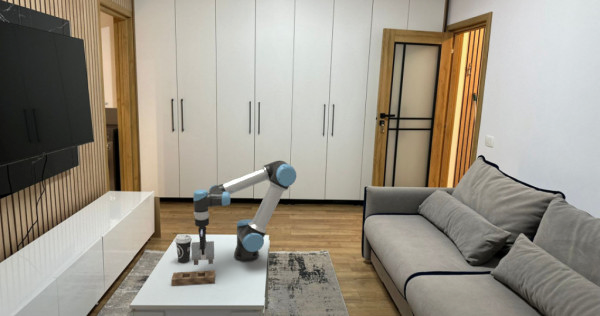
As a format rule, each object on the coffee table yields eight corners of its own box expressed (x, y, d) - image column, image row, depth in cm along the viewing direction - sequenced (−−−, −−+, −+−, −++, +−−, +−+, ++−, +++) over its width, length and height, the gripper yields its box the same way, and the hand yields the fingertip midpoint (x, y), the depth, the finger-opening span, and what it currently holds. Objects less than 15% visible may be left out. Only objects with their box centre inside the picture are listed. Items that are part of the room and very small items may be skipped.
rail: (215, 276, 220) (215, 270, 220) (214, 283, 213) (214, 277, 212) (173, 278, 217) (173, 272, 216) (171, 285, 209) (171, 279, 208)
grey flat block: (214, 261, 227) (213, 241, 225) (214, 264, 223) (213, 244, 221) (192, 262, 225) (191, 242, 223) (192, 265, 221) (191, 245, 219)
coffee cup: (187, 265, 233) (187, 240, 230) (172, 263, 235) (171, 239, 232) (195, 258, 242) (194, 234, 239) (180, 256, 244) (179, 233, 241)
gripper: (196, 213, 227) (198, 251, 231) (193, 223, 210) (195, 265, 215) (209, 212, 228) (211, 251, 233) (207, 222, 212) (209, 264, 216)
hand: (203, 257), depth 224 cm, fingers closed on grey flat block, 4 cm apart
